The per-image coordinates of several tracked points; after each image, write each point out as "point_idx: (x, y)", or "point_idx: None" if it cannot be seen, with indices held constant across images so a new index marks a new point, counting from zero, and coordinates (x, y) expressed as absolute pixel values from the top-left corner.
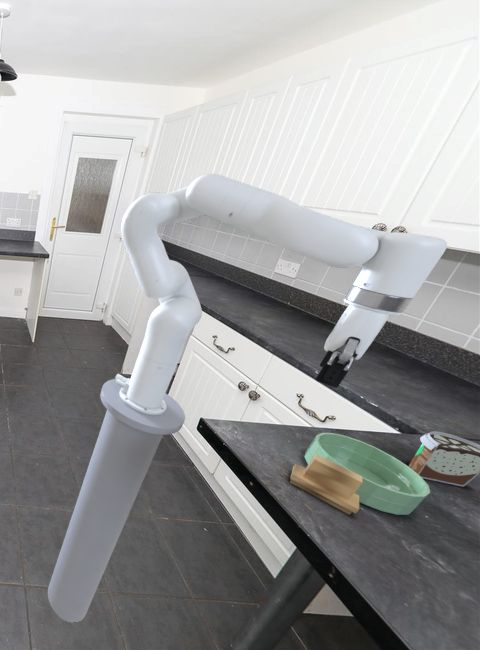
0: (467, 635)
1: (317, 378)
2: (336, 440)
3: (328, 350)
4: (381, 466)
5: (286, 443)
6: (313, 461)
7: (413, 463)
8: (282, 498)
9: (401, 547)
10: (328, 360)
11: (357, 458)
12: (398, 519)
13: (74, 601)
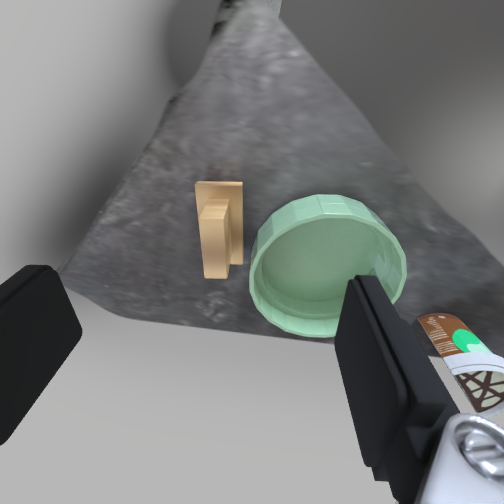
0: (126, 317)
1: (21, 274)
2: (390, 242)
3: (433, 394)
4: None
5: (351, 161)
6: (200, 215)
7: (440, 322)
8: (143, 176)
9: (204, 290)
10: (361, 338)
11: (379, 264)
12: None
13: None
